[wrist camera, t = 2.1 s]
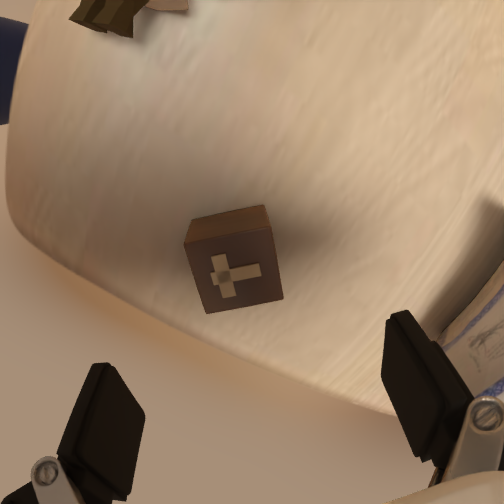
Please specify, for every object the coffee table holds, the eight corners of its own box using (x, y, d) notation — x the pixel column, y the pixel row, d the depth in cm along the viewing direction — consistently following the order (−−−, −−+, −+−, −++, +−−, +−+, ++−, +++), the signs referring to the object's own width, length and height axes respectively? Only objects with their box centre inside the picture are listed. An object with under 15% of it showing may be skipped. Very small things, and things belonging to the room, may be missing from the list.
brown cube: (208, 282, 20) (205, 316, 17) (190, 219, 18) (182, 245, 15) (275, 268, 20) (284, 300, 16) (264, 204, 18) (271, 226, 15)
